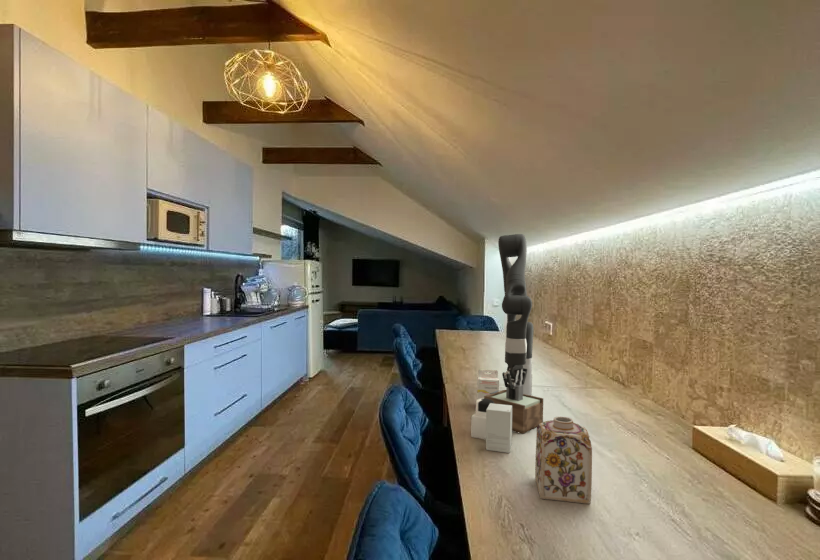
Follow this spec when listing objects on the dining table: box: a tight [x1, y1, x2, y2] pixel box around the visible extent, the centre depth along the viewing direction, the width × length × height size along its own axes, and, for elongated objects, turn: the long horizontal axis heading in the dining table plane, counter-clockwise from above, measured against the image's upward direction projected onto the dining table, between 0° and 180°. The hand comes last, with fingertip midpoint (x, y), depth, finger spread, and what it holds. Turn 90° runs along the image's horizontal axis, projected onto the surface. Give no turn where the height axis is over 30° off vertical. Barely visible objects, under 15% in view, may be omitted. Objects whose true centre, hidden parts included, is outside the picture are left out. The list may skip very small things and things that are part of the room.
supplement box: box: [485, 403, 513, 454], centre depth 135 cm, size 7×7×13 cm
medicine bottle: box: [470, 398, 494, 440], centre depth 145 cm, size 7×7×12 cm
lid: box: [492, 383, 540, 408], centre depth 158 cm, size 11×14×6 cm
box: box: [484, 389, 544, 435], centre depth 158 cm, size 14×16×10 cm
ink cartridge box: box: [476, 369, 500, 400], centre depth 178 cm, size 9×5×15 cm, turn 84°
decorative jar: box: [534, 416, 593, 505], centre depth 109 cm, size 12×12×18 cm
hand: (514, 397), depth 158 cm, fingers closed on lid, 3 cm apart
